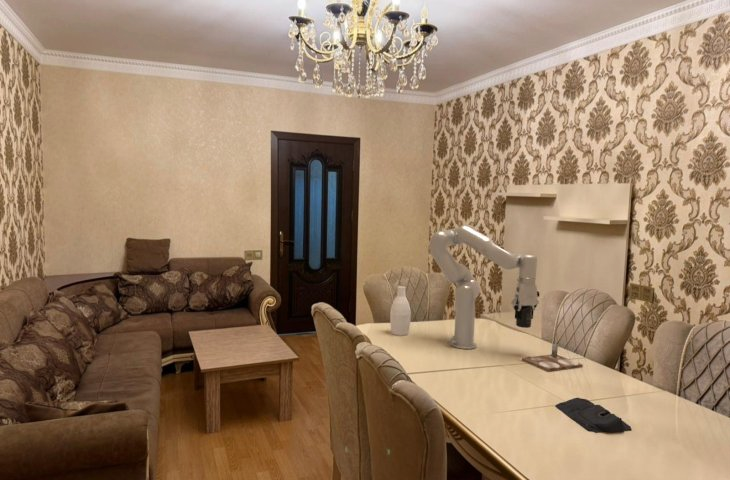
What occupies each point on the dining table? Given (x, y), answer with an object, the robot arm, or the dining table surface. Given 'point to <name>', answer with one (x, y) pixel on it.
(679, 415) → the dining table surface
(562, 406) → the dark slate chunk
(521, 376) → the dining table surface
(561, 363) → the board
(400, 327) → the bottle
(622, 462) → the dining table surface
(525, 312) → the supplement bottle
